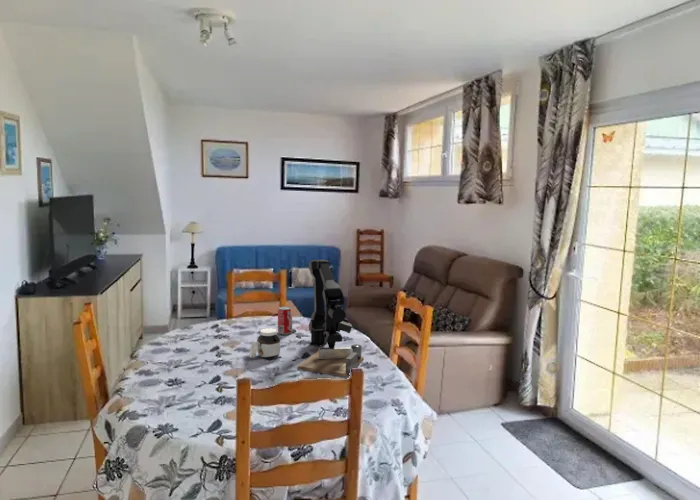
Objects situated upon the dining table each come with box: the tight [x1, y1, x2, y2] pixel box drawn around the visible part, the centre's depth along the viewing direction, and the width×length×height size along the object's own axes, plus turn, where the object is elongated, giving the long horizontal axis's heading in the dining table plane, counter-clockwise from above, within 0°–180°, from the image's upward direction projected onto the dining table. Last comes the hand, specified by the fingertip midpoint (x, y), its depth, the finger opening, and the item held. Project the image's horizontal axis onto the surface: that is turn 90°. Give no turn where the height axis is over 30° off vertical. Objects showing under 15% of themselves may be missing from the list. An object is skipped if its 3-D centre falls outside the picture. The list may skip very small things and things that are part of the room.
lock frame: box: [297, 350, 364, 378], centre depth 206 cm, size 22×21×7 cm
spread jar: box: [249, 327, 281, 360], centre depth 213 cm, size 12×11×12 cm
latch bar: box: [318, 343, 362, 359], centre depth 210 cm, size 18×4×5 cm, turn 100°
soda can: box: [277, 305, 293, 336], centre depth 247 cm, size 7×7×13 cm
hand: (331, 351), depth 212 cm, fingers closed
